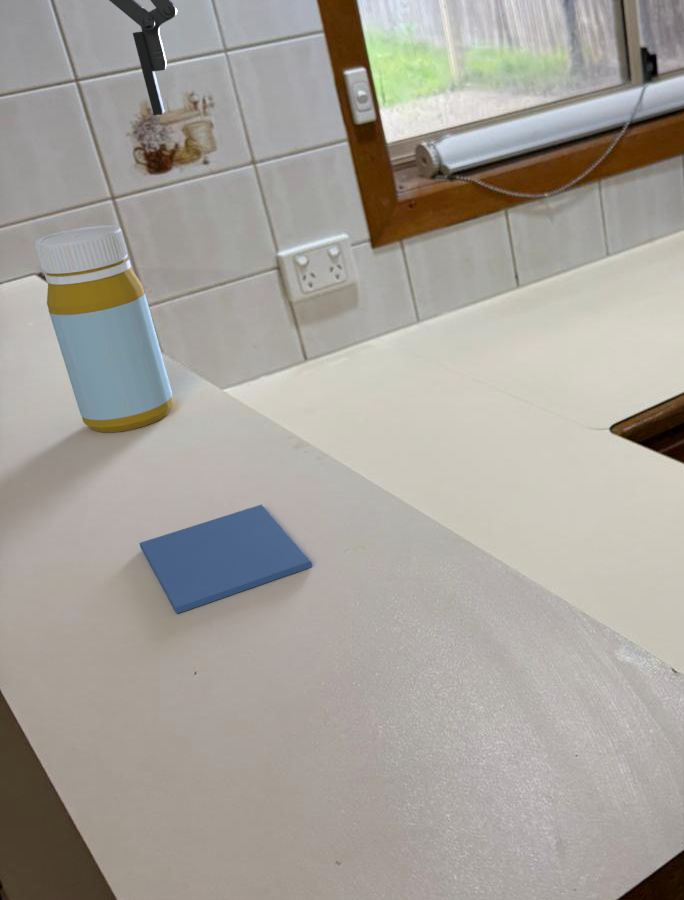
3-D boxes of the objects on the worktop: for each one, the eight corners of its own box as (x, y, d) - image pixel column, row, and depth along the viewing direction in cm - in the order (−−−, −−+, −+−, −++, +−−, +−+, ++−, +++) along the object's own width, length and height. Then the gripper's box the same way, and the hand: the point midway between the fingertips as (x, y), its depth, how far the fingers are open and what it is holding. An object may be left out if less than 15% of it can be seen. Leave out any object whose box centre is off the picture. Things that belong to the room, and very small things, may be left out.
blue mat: (312, 567, 65) (310, 561, 64) (176, 614, 61) (174, 608, 61) (263, 509, 73) (261, 503, 72) (140, 548, 69) (139, 542, 69)
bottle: (126, 401, 96) (75, 225, 90) (193, 403, 94) (145, 222, 88) (66, 433, 90) (7, 247, 84) (136, 436, 88) (80, 245, 82)
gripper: (-207, -153, 80) (-101, 153, 89) (160, -184, 86) (227, 107, 94) (-173, -141, 87) (-77, 142, 95) (166, -170, 92) (228, 100, 101)
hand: (74, 125), depth 95 cm, fingers open, 13 cm apart
